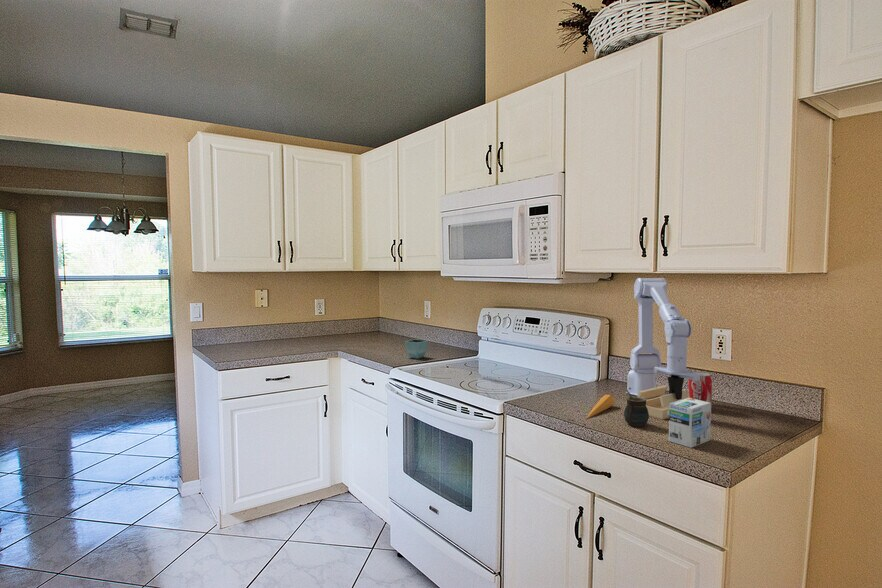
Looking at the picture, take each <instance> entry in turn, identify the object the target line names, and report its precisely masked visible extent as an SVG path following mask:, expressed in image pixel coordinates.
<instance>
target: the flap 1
mask: <svg viewBox="0 0 882 588" xmlns="http://www.w3.org/2000/svg"><path fill="white" fill-rule="evenodd" d="M667 388H668V386H667V385H660V386H657V387H656V386H655V388H651V389H647V390H643V391H639V394H638V396H636V397H640V398H644V399H646V400H649V399H653V398H657V397H659V396H663V395H665V392H666V390H667Z"/></svg>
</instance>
